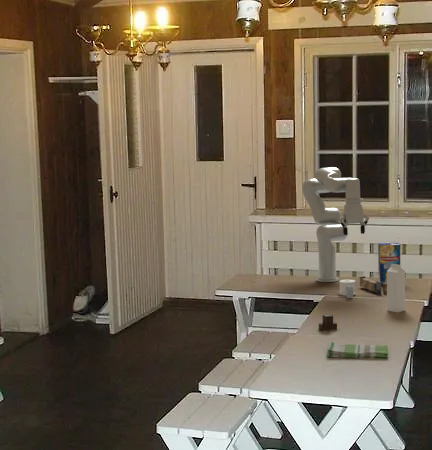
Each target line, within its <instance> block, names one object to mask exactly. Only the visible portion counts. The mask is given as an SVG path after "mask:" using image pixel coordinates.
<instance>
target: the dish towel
mask: <svg viewBox="0 0 432 450" xmlns="http://www.w3.org/2000/svg"><path fill="white" fill-rule="evenodd" d="M327 344H328V345H327V346H328V347H327V354H326V358H327V359H329V358H332V359H365V360H366V359H367V360H368V359H369V360H372V359H373V360H388V357H389V353H388V346H387V344H382V345H381V344H375V345H374V344H352V343H351V344H343V343H342V344H341V343H336V342H333V341H330V342H328V343H327Z"/></svg>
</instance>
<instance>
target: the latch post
mask: <svg viewBox="0 0 432 450" xmlns="http://www.w3.org/2000/svg"><path fill="white" fill-rule="evenodd" d="M353 298H354V295H353V287H352V286H346V299H349V300H350V299H353Z"/></svg>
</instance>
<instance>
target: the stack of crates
mask: <svg viewBox="0 0 432 450" xmlns="http://www.w3.org/2000/svg"><path fill="white" fill-rule="evenodd" d="M337 330H338V323H337V322H336V321H334V315H333V314H330V313H329V314H322V322H319V323H318V331H321V332H326V331H327V332H328V331H337Z"/></svg>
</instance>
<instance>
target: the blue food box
mask: <svg viewBox="0 0 432 450" xmlns="http://www.w3.org/2000/svg"><path fill="white" fill-rule="evenodd" d="M377 244H378V252H377V253H378V255H377V256H378V259H377V260H378V261H377V262H378V263H377V264H378V269H377V270H378V281H381V286H383V283H387V270H388V269H389V268H390V267H391V264H397V265H401V244H400V243H399V242H386V243H385V242H384V243H382V242H379V243H377Z"/></svg>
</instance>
